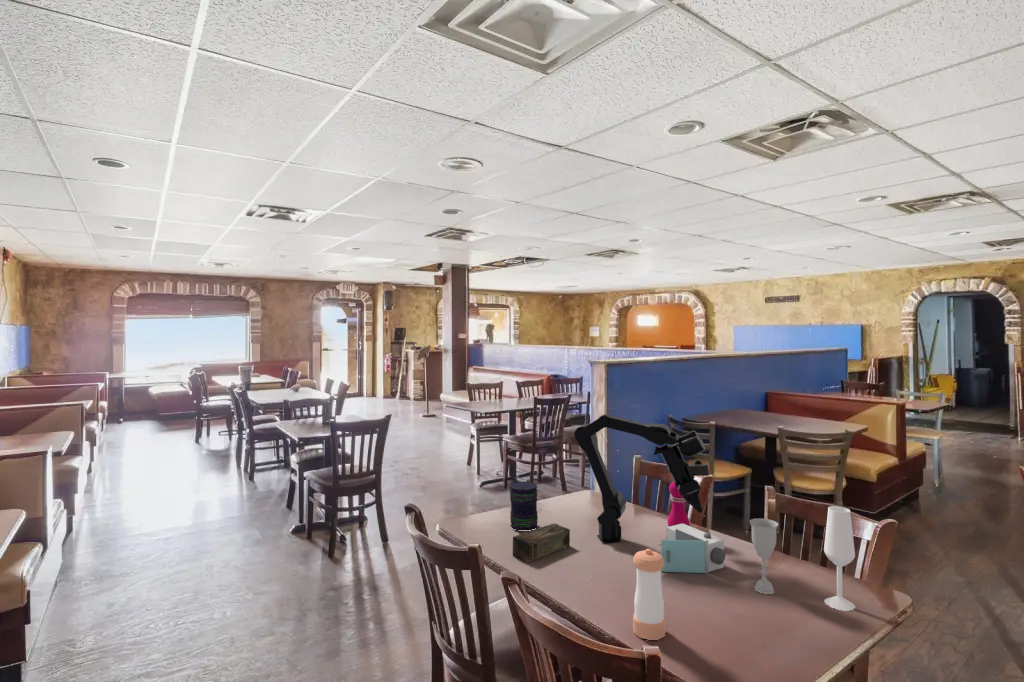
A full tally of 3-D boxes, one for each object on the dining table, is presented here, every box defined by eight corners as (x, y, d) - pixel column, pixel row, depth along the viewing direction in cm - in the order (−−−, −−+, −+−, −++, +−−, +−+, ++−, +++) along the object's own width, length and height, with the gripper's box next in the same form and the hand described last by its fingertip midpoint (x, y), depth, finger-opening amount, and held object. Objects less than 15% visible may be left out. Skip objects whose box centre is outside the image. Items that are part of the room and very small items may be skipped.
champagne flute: (818, 597, 139) (818, 505, 139) (845, 597, 139) (844, 504, 138) (833, 610, 132) (833, 513, 132) (861, 611, 132) (861, 513, 132)
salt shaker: (660, 623, 128) (659, 542, 127) (670, 640, 120) (669, 555, 120) (629, 624, 127) (628, 543, 127) (637, 641, 120) (637, 556, 120)
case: (665, 553, 168) (665, 523, 168) (682, 548, 172) (682, 519, 171) (710, 574, 153) (710, 542, 152) (728, 569, 156) (728, 537, 156)
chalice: (766, 598, 139) (765, 529, 138) (744, 587, 145) (743, 521, 144) (784, 592, 142) (784, 524, 142) (762, 581, 148) (761, 516, 148)
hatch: (704, 571, 154) (704, 540, 154) (705, 574, 152) (705, 543, 152) (661, 570, 156) (661, 539, 155) (662, 573, 154) (662, 541, 154)
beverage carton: (571, 547, 175) (571, 526, 174) (528, 564, 162) (528, 542, 162) (553, 540, 181) (553, 520, 180) (511, 556, 168) (510, 535, 168)
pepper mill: (687, 532, 185) (686, 474, 185) (692, 540, 178) (691, 480, 178) (665, 531, 186) (665, 474, 186) (669, 539, 179) (669, 479, 179)
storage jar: (512, 521, 198) (511, 481, 198) (539, 522, 197) (538, 481, 197) (508, 531, 188) (507, 488, 188) (536, 532, 187) (535, 489, 187)
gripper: (703, 455, 160) (729, 504, 157) (695, 448, 178) (717, 493, 176) (668, 470, 162) (693, 519, 159) (664, 462, 180) (686, 506, 177)
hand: (698, 509), depth 168 cm, fingers open, 9 cm apart
